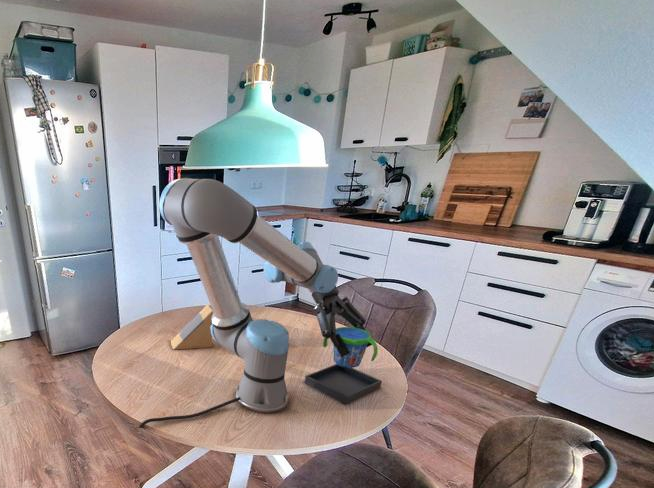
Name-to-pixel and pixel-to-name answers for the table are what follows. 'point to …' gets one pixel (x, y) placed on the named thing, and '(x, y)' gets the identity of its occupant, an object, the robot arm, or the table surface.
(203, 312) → the sandwich container
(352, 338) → the snack cup
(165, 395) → the table surface
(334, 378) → the tray
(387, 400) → the table surface
